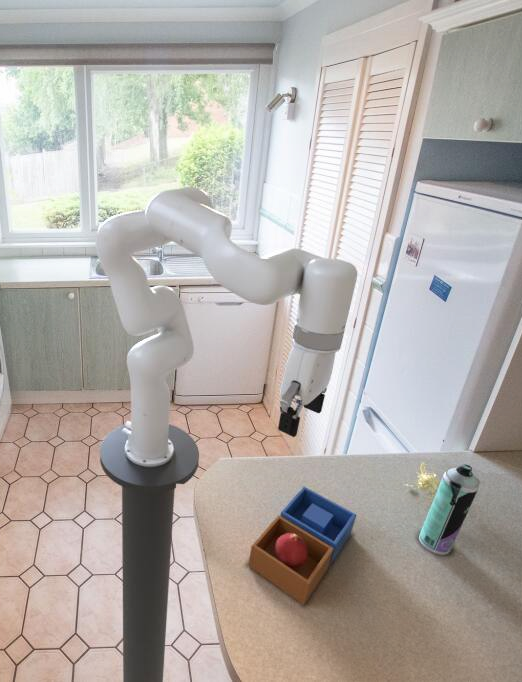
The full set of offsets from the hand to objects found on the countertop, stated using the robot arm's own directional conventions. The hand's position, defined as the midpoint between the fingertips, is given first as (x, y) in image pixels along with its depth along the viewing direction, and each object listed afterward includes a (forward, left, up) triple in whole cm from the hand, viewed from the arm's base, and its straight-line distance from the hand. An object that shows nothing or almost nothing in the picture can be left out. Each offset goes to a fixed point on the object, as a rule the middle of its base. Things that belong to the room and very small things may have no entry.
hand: (299, 421), depth 81 cm
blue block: (+6, +5, -28) cm, 29 cm away
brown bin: (+6, -6, -28) cm, 29 cm away
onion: (+5, -6, -28) cm, 29 cm away
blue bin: (+6, +5, -28) cm, 29 cm away
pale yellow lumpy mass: (+20, +33, -28) cm, 48 cm away
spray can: (+24, +20, -28) cm, 42 cm away
